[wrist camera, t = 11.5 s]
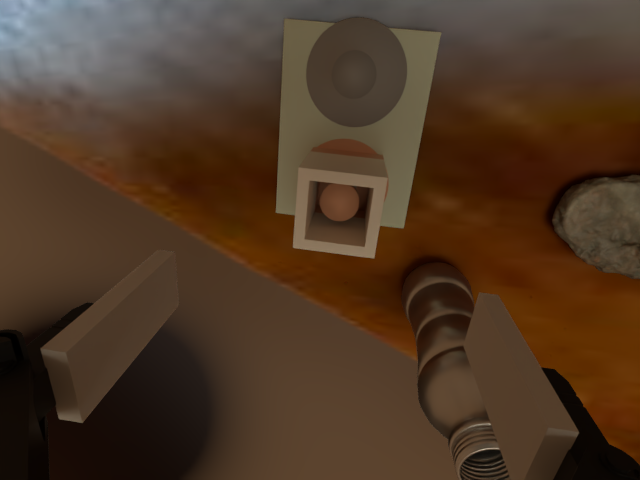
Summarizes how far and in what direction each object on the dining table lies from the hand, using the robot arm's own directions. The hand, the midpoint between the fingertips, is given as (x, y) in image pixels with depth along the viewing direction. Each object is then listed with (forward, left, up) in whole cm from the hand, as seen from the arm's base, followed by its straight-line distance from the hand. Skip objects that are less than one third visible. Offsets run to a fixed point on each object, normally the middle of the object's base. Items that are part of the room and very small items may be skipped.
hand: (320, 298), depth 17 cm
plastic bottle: (+10, +10, -21) cm, 25 cm away
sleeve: (0, 0, -19) cm, 19 cm away
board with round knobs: (-4, 0, -20) cm, 21 cm away
